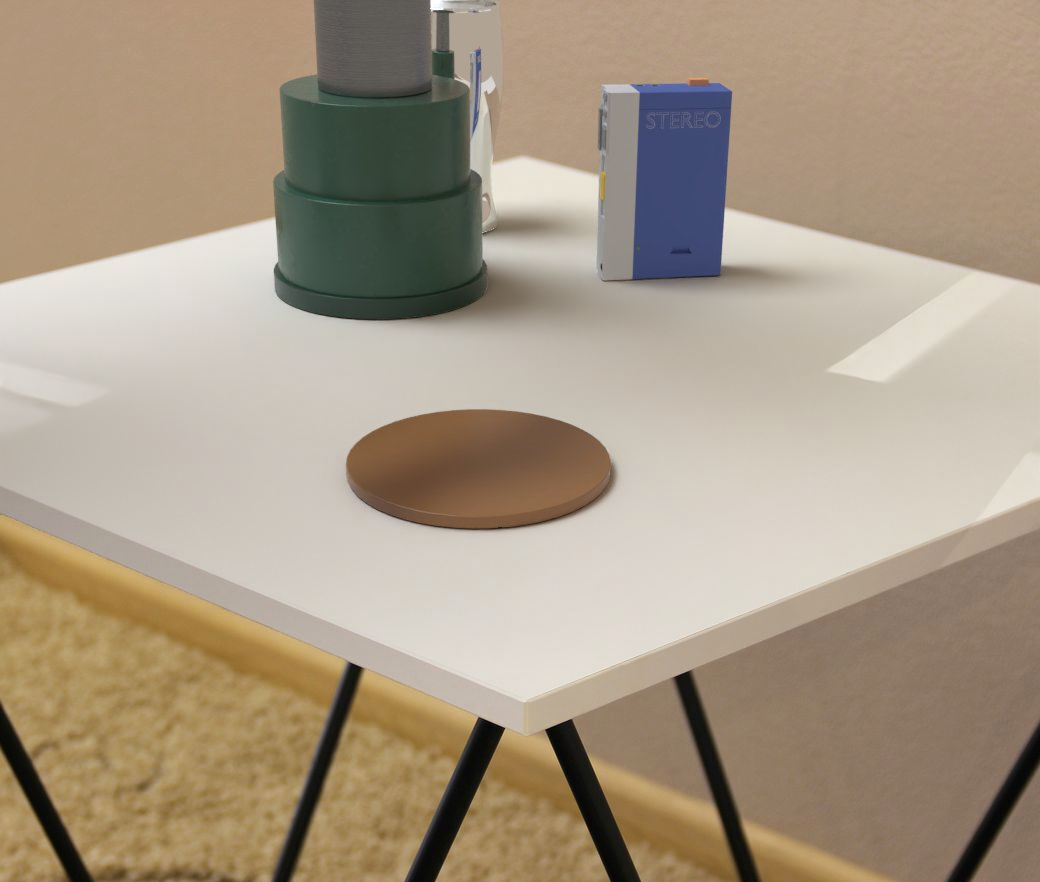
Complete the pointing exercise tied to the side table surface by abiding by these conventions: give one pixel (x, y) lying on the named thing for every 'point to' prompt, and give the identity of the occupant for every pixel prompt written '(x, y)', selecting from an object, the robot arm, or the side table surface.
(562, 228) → the side table surface
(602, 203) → the walkman
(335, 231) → the green tiered cylinder
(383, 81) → the steel cup
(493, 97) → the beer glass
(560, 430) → the cork coaster
